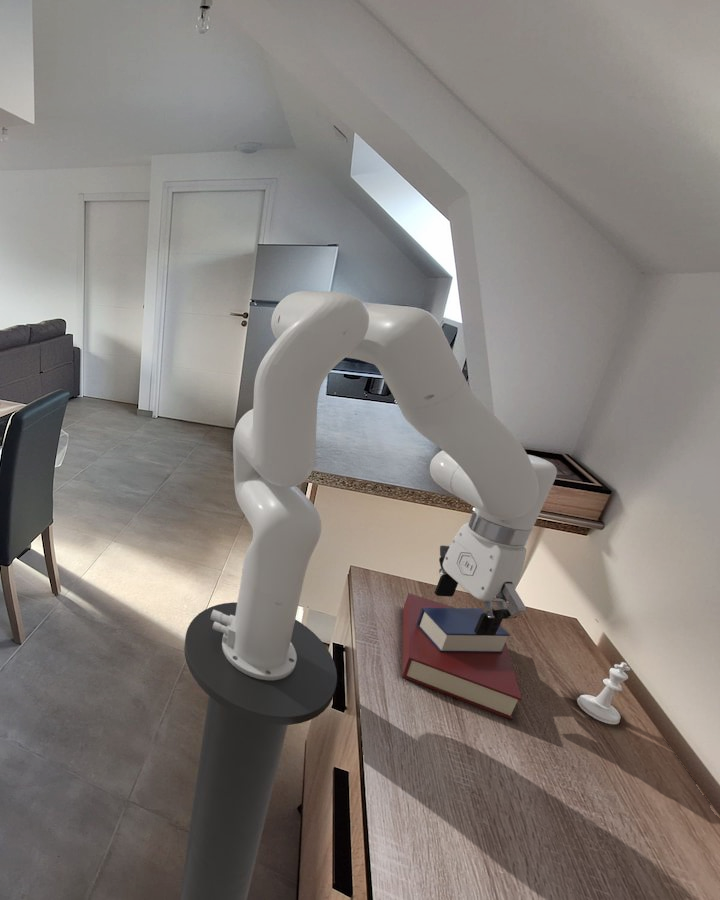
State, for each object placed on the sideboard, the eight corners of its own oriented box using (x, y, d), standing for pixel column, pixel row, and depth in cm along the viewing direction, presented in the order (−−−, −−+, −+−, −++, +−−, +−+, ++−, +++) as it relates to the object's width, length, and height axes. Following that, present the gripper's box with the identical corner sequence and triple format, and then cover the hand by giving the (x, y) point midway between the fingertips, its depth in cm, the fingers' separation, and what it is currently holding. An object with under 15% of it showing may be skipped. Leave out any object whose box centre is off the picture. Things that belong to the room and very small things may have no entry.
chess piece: (627, 728, 70) (657, 680, 67) (588, 719, 71) (615, 671, 68) (606, 702, 75) (633, 655, 71) (570, 693, 76) (594, 647, 72)
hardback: (512, 720, 71) (522, 699, 69) (402, 677, 78) (409, 657, 76) (492, 640, 87) (499, 621, 85) (402, 610, 94) (408, 592, 92)
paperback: (440, 652, 78) (447, 633, 76) (416, 624, 84) (422, 607, 82) (502, 652, 78) (510, 634, 77) (473, 625, 84) (480, 608, 83)
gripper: (439, 502, 81) (410, 581, 87) (521, 558, 64) (479, 651, 71) (479, 504, 81) (448, 583, 87) (571, 560, 65) (525, 652, 71)
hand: (462, 613), depth 79 cm, fingers open, 9 cm apart
